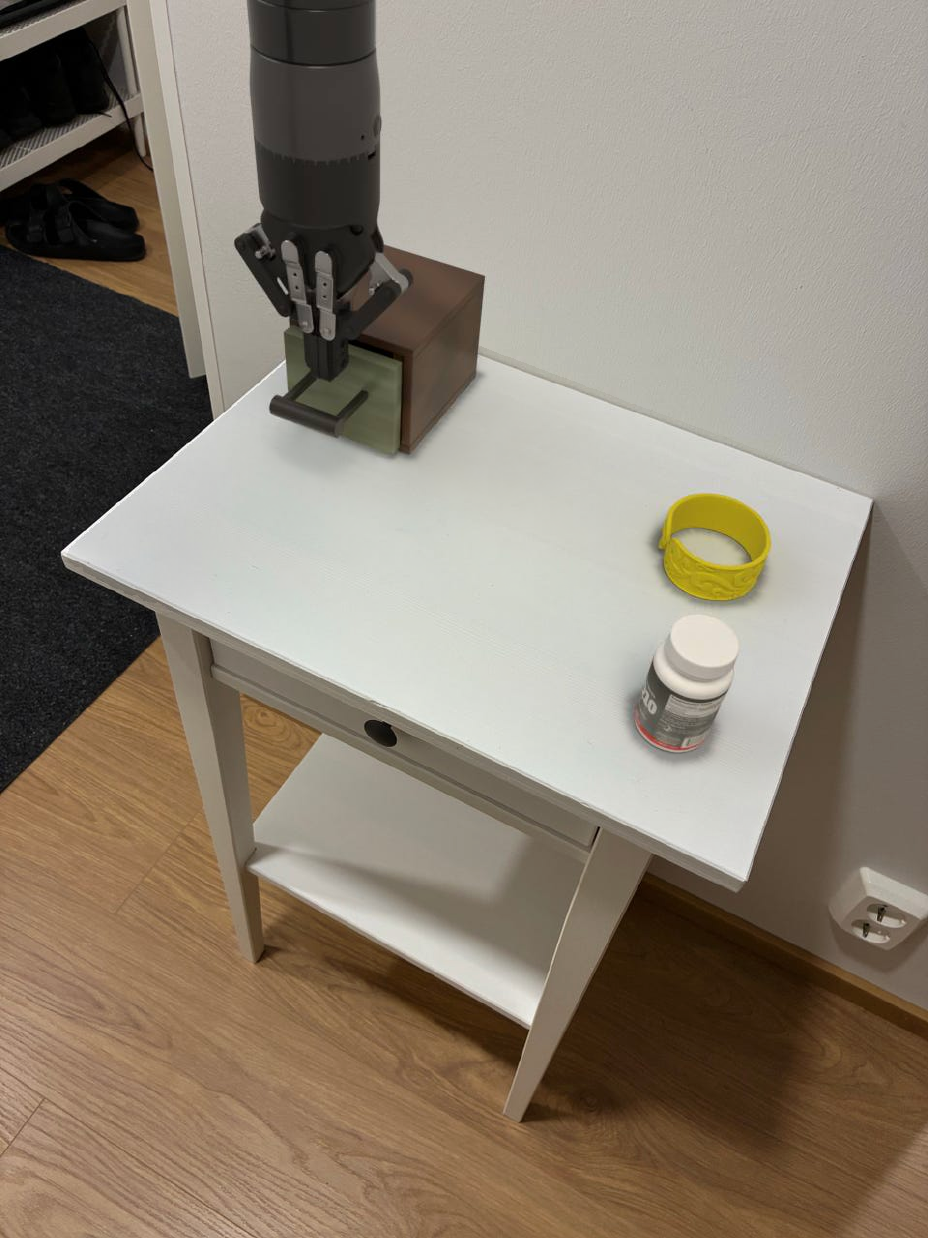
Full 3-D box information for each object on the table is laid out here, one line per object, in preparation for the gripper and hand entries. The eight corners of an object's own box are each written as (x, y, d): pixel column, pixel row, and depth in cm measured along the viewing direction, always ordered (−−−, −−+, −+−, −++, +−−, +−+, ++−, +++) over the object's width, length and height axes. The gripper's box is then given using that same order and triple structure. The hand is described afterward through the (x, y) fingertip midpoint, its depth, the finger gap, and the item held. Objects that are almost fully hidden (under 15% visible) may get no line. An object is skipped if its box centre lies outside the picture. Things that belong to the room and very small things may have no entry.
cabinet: (409, 455, 77) (413, 350, 70) (295, 413, 80) (288, 308, 72) (476, 376, 85) (485, 275, 78) (370, 340, 87) (370, 239, 80)
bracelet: (741, 524, 74) (754, 492, 72) (771, 601, 69) (786, 569, 67) (649, 524, 74) (659, 491, 71) (672, 602, 68) (684, 569, 66)
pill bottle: (635, 688, 63) (664, 601, 57) (707, 700, 63) (744, 615, 56) (631, 747, 60) (661, 662, 54) (707, 761, 59) (746, 677, 53)
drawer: (358, 494, 72) (357, 408, 66) (252, 453, 74) (242, 366, 69) (456, 381, 83) (463, 298, 77) (360, 348, 85) (360, 265, 79)
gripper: (186, 121, 57) (221, 372, 70) (384, 178, 54) (382, 430, 67) (258, 81, 61) (278, 323, 74) (444, 132, 58) (431, 376, 71)
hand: (327, 373), depth 70 cm, fingers closed
